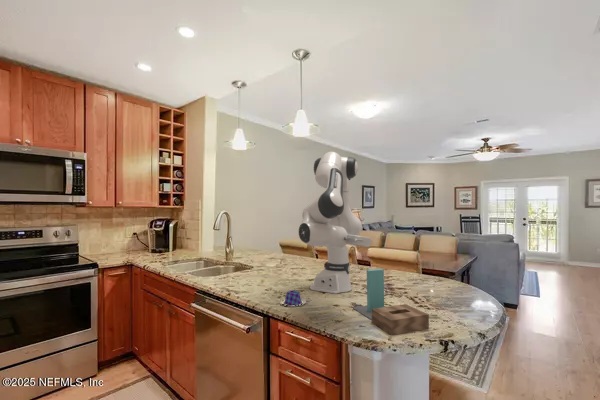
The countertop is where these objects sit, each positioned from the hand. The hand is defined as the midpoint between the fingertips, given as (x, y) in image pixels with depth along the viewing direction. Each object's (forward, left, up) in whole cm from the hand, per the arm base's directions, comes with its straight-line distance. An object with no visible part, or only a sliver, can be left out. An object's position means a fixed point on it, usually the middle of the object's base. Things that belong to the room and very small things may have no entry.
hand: (362, 241), depth 121 cm
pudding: (-32, +2, -30) cm, 44 cm away
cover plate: (+5, +3, -29) cm, 30 cm away
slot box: (+14, -9, -30) cm, 34 cm away
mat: (+5, +3, -30) cm, 30 cm away
